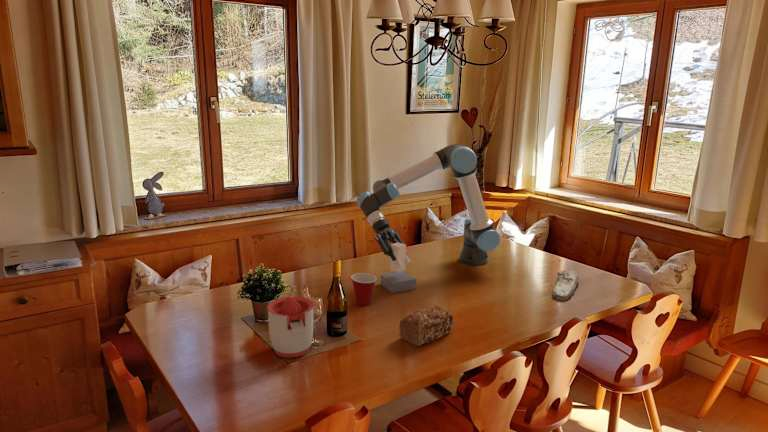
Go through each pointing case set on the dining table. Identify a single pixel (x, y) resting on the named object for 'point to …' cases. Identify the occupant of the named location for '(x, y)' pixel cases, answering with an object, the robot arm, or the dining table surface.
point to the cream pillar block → (401, 254)
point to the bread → (425, 325)
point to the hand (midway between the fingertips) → (404, 264)
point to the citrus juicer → (291, 325)
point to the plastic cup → (363, 287)
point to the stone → (565, 285)
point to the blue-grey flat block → (398, 281)
